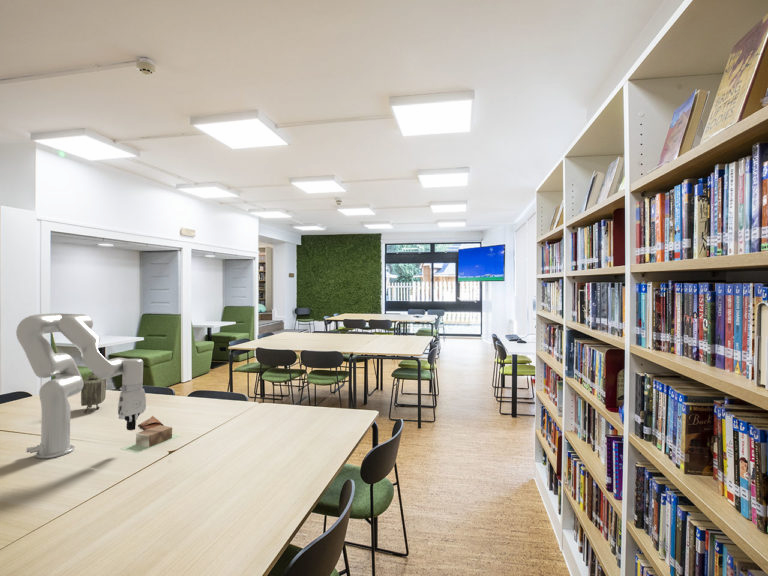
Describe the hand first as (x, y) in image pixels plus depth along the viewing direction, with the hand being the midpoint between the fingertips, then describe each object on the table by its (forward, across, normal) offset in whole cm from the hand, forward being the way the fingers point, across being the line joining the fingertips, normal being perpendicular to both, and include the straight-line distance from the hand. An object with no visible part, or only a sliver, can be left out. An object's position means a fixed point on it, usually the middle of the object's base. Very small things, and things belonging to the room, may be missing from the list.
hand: (131, 429), depth 171 cm
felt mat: (+9, +10, 0) cm, 14 cm away
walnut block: (+6, +5, 0) cm, 8 cm away
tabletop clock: (+10, +33, +75) cm, 82 cm away
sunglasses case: (+10, +24, +18) cm, 32 cm away
